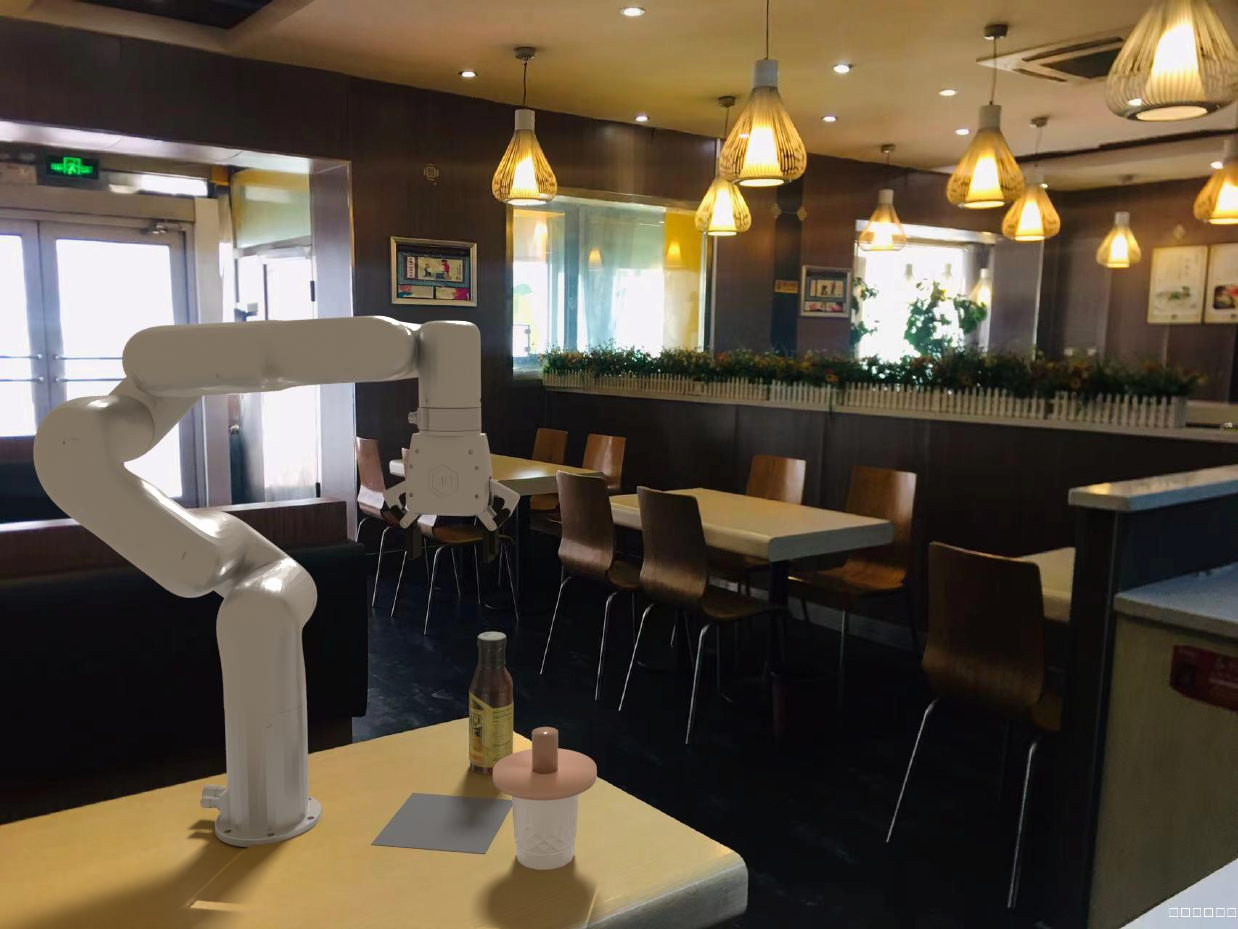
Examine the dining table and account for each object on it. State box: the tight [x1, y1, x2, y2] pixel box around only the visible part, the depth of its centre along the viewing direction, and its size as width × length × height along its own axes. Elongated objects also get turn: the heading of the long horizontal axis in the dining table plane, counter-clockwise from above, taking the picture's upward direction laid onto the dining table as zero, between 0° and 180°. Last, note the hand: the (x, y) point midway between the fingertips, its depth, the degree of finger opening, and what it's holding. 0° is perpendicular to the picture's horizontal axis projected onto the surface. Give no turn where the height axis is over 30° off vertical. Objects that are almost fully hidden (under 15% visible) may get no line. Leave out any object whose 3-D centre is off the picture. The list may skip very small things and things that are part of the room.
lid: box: [492, 726, 598, 800], centre depth 109 cm, size 12×12×5 cm
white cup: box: [511, 794, 580, 871], centre depth 110 cm, size 8×8×10 cm
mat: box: [370, 792, 512, 855], centre depth 118 cm, size 14×14×1 cm
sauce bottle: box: [468, 631, 514, 776], centre depth 134 cm, size 7×6×20 cm
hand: (451, 559), depth 118 cm, fingers open, 9 cm apart
